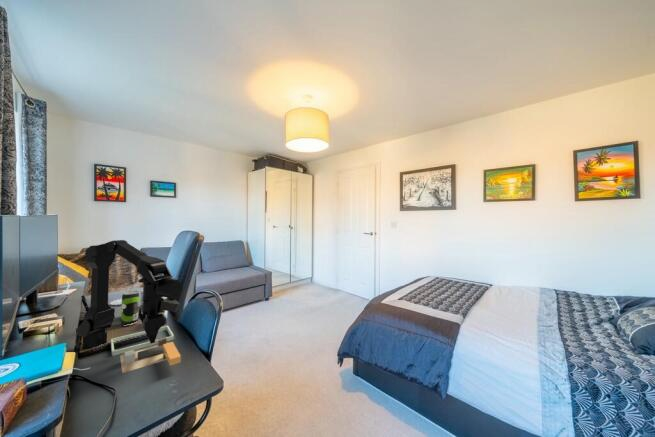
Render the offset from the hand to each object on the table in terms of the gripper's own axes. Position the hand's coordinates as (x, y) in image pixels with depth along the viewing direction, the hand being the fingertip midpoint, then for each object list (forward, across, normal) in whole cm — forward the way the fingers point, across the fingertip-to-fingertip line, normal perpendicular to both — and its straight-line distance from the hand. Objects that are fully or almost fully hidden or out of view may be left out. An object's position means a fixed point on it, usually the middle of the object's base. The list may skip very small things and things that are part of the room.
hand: (150, 337), depth 88 cm
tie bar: (+3, -11, -5) cm, 12 cm away
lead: (+6, 0, 0) cm, 6 cm away
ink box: (+8, +32, -8) cm, 34 cm away
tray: (+7, +14, 0) cm, 16 cm away
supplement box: (+8, +47, -6) cm, 48 cm away
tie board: (+7, 0, 0) cm, 7 cm away
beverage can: (+8, +39, +3) cm, 40 cm away
